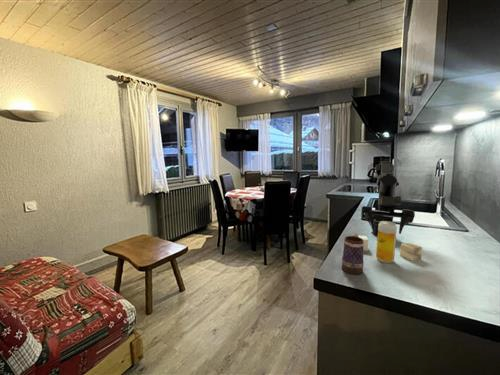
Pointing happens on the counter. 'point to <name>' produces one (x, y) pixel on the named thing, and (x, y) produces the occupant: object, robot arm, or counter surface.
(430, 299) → the counter surface
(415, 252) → the birch block
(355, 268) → the mug
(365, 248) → the cream plastic block
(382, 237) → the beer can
